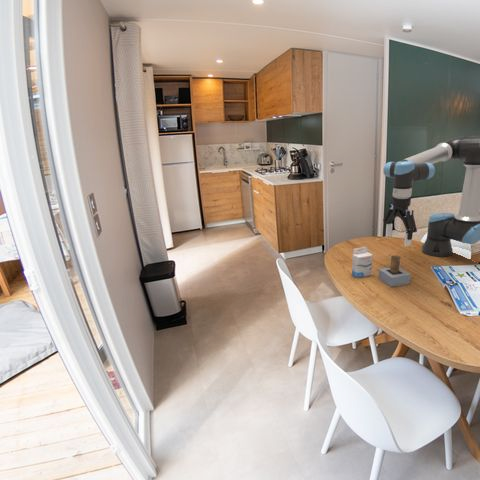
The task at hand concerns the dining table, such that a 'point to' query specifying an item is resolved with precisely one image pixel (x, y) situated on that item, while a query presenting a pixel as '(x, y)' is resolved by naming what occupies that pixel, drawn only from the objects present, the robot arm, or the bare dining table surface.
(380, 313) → the dining table surface
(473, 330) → the dining table surface
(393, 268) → the peg
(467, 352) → the dining table surface
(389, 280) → the socket
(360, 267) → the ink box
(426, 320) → the dining table surface
